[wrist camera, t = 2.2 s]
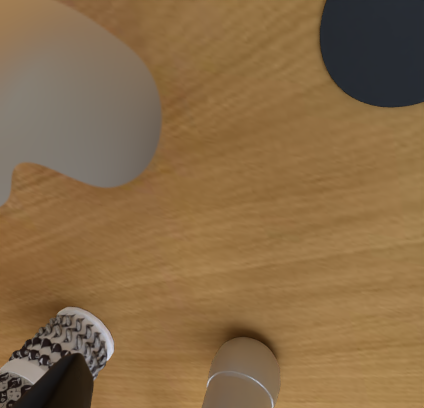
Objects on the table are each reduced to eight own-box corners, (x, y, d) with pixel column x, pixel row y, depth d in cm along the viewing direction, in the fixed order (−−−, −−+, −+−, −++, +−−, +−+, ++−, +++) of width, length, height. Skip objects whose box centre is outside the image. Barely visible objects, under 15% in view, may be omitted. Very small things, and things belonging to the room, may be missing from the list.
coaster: (559, -49, 15) (563, -51, 14) (431, 130, 19) (433, 131, 19) (374, -106, 16) (374, -109, 16) (294, 74, 20) (293, 74, 20)
